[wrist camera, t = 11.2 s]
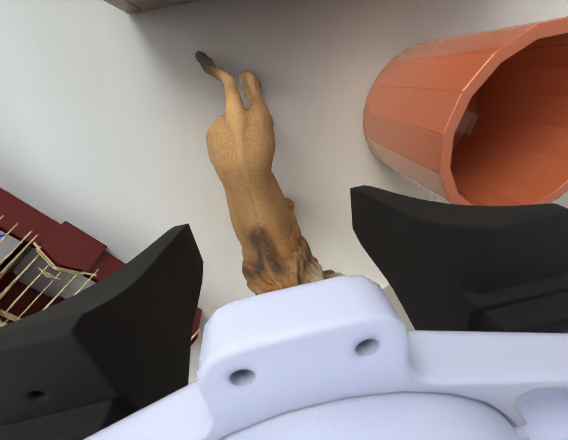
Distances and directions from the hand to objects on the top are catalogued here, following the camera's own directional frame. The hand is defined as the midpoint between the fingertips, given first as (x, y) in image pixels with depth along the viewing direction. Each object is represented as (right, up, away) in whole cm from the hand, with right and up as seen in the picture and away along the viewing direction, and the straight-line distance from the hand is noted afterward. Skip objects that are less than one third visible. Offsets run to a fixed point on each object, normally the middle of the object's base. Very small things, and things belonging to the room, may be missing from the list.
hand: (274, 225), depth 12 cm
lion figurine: (-1, +3, +7) cm, 7 cm away
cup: (+9, +7, +6) cm, 13 cm away
